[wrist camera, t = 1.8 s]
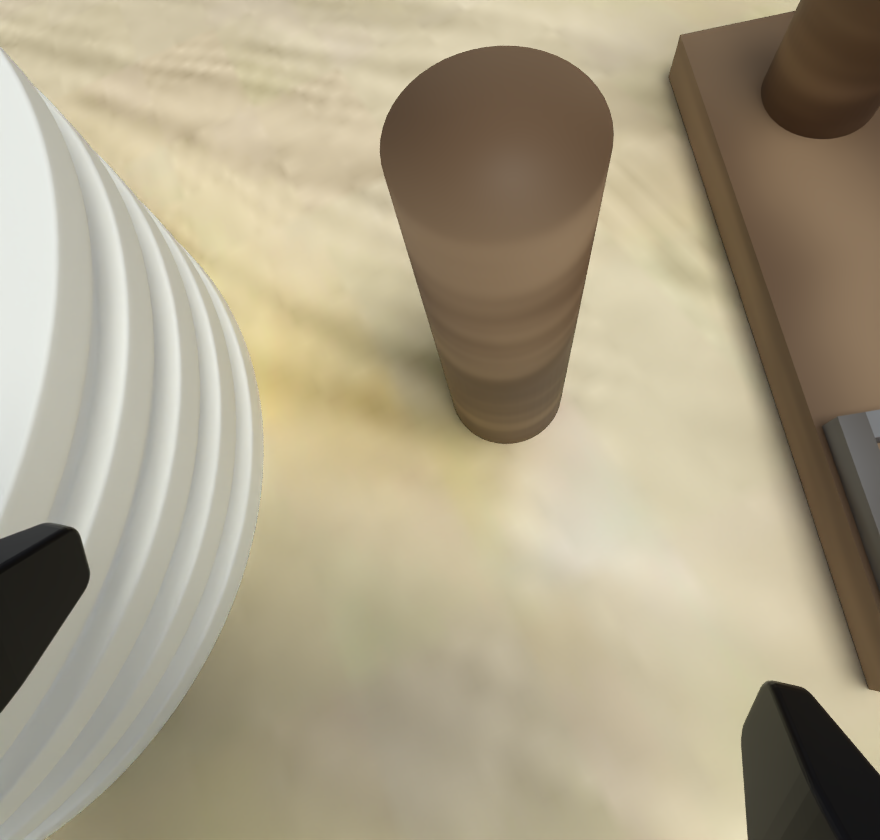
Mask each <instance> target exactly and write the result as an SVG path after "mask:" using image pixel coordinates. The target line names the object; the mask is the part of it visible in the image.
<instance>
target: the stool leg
mask: <svg viewBox="0 0 880 840" xmlns="http://www.w3.org/2000/svg"><path fill="white" fill-rule="evenodd" d="M613 136H614V133H613V122H612V118H611V114H610V110H609V107H608V105H607V103H606V101H605V98H604V97H603V95H602V93H601V92H600V90H599V89H598V87H597V86H596V85H595V84H594V82H593V81H592V80H591V79H590V78H589V77H588V76H587V75H586V74H585V73H583V72H582V71H581V70H580V69H579V68H577V67H576V66H574V65H573V64H571V63H570V62H568V61H566V60H564V59H562V58H560V57H558V56H556V55H553V54H550V53H547V52H545V51H541V50H537V49H532V48H528V47H519V46H492V47H484V48H478V49H473V50H469V51H466V52H463V53H459V54H456V55H454V56H452V57H449V58H447V59H444V60H442V61H441V62H439V63H437V64H435V65H433V66H431V67H430V68H429V69H427V70H426V71H424V72H423V73H421V74H420V75H419V76H418V77H416V78H415V79H414V80H413V81H412V82H411V83H410V84H409V85H408V86H407V87H406V88H405V89H404V90H403V91H402V92H401V94H400V95H399V96H398V98H397V99H396V101H395V102H394V104H393V105H392V107H391V109H390V111H389V113H388V115H387V117H386V120H385V123H384V126H383V130H382V135H381V139H380V157H381V165H382V169H383V172H384V176H385V179H386V183H387V186H388V189H389V192H390V196H391V199H392V202H393V206H394V209H395V212H396V216H397V219H398V222H399V225H400V229H401V232H402V235H403V239H404V242H405V245H406V249H407V252H408V255H409V258H410V262H411V265H412V268H413V272H414V275H415V278H416V282H417V285H418V288H419V291H420V295H421V298H422V301H423V305H424V308H425V311H426V315H427V318H428V321H429V324H430V328H431V331H432V334H433V338H434V341H435V344H436V348H437V351H438V354H439V357H440V361H441V364H442V367H443V371H444V374H445V377H446V381H447V384H448V387H449V390H450V394H451V397H452V400H453V404H454V407H455V410H456V412H457V415H458V416H459V418H460V420H461V421H462V422H463V424H464V425H465V426H466V427H467V428H468V429H469V430H470V431H471V432H473V433H474V434H475V435H477V436H479V437H481V438H483V439H485V440H488V441H491V442H495V443H503V444H509V443H518V442H522V441H525V440H528V439H530V438H532V437H534V436H536V435H537V434H539V433H540V432H542V431H543V430H544V429H545V428H546V427H547V426H548V425H549V424H550V423H551V421H552V420H553V419H554V417H555V415H556V413H557V411H558V408H559V405H560V401H561V396H562V392H563V387H564V382H565V377H566V372H567V367H568V362H569V357H570V353H571V348H572V343H573V338H574V333H575V328H576V323H577V318H578V314H579V309H580V304H581V299H582V294H583V289H584V284H585V280H586V275H587V270H588V265H589V260H590V255H591V250H592V245H593V241H594V236H595V231H596V226H597V221H598V216H599V211H600V207H601V202H602V197H603V192H604V187H605V182H606V177H607V172H608V168H609V163H610V158H611V153H612V148H613Z"/></svg>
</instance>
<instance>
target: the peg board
mask: <svg viewBox="0 0 880 840" xmlns="http://www.w3.org/2000/svg"><path fill="white" fill-rule="evenodd" d="M669 79H670V82H671V85H672V88H673V92H674V95H675V98H676V101H677V104H678V107H679V110H680V113H681V116H682V119H683V122H684V125H685V128H686V131H687V134H688V137H689V140H690V143H691V147H692V150H693V153H694V156H695V159H696V162H697V165H698V168H699V171H700V174H701V177H702V180H703V183H704V186H705V189H706V192H707V195H708V198H709V202H710V205H711V208H712V211H713V214H714V217H715V220H716V223H717V226H718V229H719V232H720V235H721V238H722V241H723V244H724V247H725V250H726V254H727V257H728V260H729V263H730V266H731V269H732V272H733V275H734V278H735V281H736V284H737V287H738V290H739V293H740V296H741V299H742V302H743V305H744V309H745V312H746V315H747V318H748V321H749V324H750V327H751V330H752V333H753V336H754V339H755V342H756V345H757V348H758V351H759V354H760V357H761V360H762V364H763V367H764V370H765V373H766V376H767V379H768V382H769V385H770V388H771V391H772V394H773V397H774V400H775V403H776V406H777V409H778V412H779V415H780V419H781V422H782V425H783V428H784V431H785V434H786V437H787V440H788V443H789V446H790V449H791V452H792V455H793V458H794V461H795V464H796V467H797V470H798V474H799V477H800V480H801V483H802V486H803V489H804V492H805V495H806V498H807V501H808V504H809V507H810V510H811V513H812V516H813V519H814V522H815V526H816V529H817V532H818V535H819V538H820V541H821V544H822V547H823V550H824V553H825V556H826V559H827V562H828V565H829V568H830V571H831V574H832V577H833V581H834V584H835V587H836V590H837V593H838V596H839V599H840V602H841V605H842V608H843V611H844V614H845V617H846V620H847V623H848V626H849V629H850V632H851V636H852V639H853V642H854V645H855V648H856V651H857V654H858V657H859V660H860V663H861V666H862V669H863V672H864V675H865V678H866V681H867V684H868V687H869V689H870V690H875V691H879V692H880V0H800V2H799V4H798V7H797V9H796V11H793V12H788V13H783V14H778V15H774V16H769V17H764V18H759V19H754V20H750V21H745V22H740V23H735V24H731V25H726V26H721V27H716V28H711V29H707V30H702V31H697V32H692V33H688V34H683V35H680V38H679V42H678V45H677V49H676V52H675V56H674V59H673V63H672V67H671V70H670V74H669Z"/></svg>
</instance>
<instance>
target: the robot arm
mask: <svg viewBox="0 0 880 840" xmlns="http://www.w3.org/2000/svg"><path fill="white" fill-rule="evenodd" d="M89 579H90V568H89V565H88V561H87V558H86V554H85V550H84V547H83V543H82V539H81V536H80V534H79V532H78V531H77V530H76V529H75V528H73V527H70V526H65V525H61V524H56V523H42V524H39V525H36V526H33V527H31V528H28V529H25V530H23V531H20V532H17V533H15V534H12V535H9V536H7V537H4V538H1V539H0V713H1V712H2V711H3V710H4V708H5V707H6V706H7V705H8V703H9V702H10V701H11V699H12V698H13V697H14V695H15V694H16V693H17V691H18V690H19V689H20V687H21V686H22V685H23V683H24V682H25V680H26V679H27V677H28V676H29V674H30V673H31V672H32V670H33V669H34V667H35V666H36V664H37V663H38V661H39V660H40V658H41V657H42V655H43V654H44V652H45V651H46V649H47V647H48V646H49V644H50V643H51V641H52V640H53V638H54V637H55V635H56V634H57V632H58V631H59V629H60V628H61V626H62V625H63V623H64V622H65V620H66V619H67V617H68V616H69V614H70V613H71V611H72V610H73V608H74V607H75V605H76V604H77V602H78V601H79V599H80V598H81V596H82V594H83V593H84V591H85V590H86V588H87V586H88V583H89ZM741 750H742V764H743V778H744V792H745V806H746V820H747V834H748V840H880V775H879V773H878V772H877V771H876V770H875V769H874V767H873V766H872V765H871V764H870V763H869V762H868V760H867V759H866V758H865V757H864V756H863V754H862V753H861V752H860V751H859V750H858V749H857V747H856V746H855V745H854V744H853V743H852V741H851V740H850V739H849V738H848V737H847V736H846V734H845V733H844V732H843V731H842V730H841V729H840V727H839V726H838V725H837V724H836V723H835V721H834V720H833V719H832V718H831V717H830V716H829V714H828V713H827V712H826V711H825V710H824V708H823V707H822V706H821V705H820V704H819V703H818V701H817V700H816V699H815V698H814V697H813V696H812V694H811V693H810V692H808V691H807V690H806V689H804V688H802V687H799V686H795V685H790V684H786V683H781V682H777V681H767V682H765V683H764V684H763V685H762V686H761V688H760V690H759V692H758V694H757V696H756V699H755V701H754V703H753V705H752V707H751V709H750V712H749V714H748V716H747V718H746V720H745V723H744V725H743V729H742V736H741Z"/></svg>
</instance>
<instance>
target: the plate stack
mask: <svg viewBox="0 0 880 840" xmlns="http://www.w3.org/2000/svg"><path fill="white" fill-rule="evenodd" d="M263 460H264V437H263V420H262V411H261V403H260V397H259V391H258V385H257V381H256V376H255V372H254V368H253V364H252V361H251V357H250V354H249V351H248V348H247V345H246V342H245V340H244V337H243V335H242V332H241V330H240V328H239V325H238V323H237V321H236V319H235V317H234V315H233V313H232V311H231V309H230V307H229V306H228V304H227V302H226V300H225V299H224V297H223V296H222V294H221V292H220V291H219V289H218V288H217V287H216V285H215V284H214V282H213V281H212V279H211V278H210V277H209V276H208V274H207V273H206V272H205V271H204V269H203V268H202V267H201V266H200V265H199V264H198V263H197V262H196V260H195V259H194V258H193V257H192V256H191V255H190V254H189V253H188V252H187V251H186V249H185V248H184V247H183V246H182V245H181V244H180V243H179V242H178V241H177V240H176V239H175V238H174V237H173V235H172V234H171V233H170V232H169V231H168V230H167V229H166V228H165V226H164V225H163V224H162V223H161V222H160V221H159V220H158V219H157V218H156V217H155V215H154V214H153V213H152V212H151V211H150V210H149V209H148V208H147V207H146V206H145V205H144V204H143V203H142V202H141V201H140V200H139V199H138V198H137V196H136V195H135V194H134V193H133V192H132V190H131V189H130V188H129V187H128V186H127V185H126V184H125V183H124V182H123V180H122V179H121V178H120V177H119V176H118V175H117V174H116V173H115V172H114V170H113V169H112V168H111V167H110V166H109V165H108V164H107V163H106V162H105V161H104V160H103V159H102V158H101V157H100V156H99V155H98V154H97V153H96V152H95V151H94V150H93V149H92V148H91V147H90V145H89V144H88V143H87V141H86V140H85V139H84V138H83V137H82V136H81V134H80V133H79V132H78V131H77V130H76V129H75V128H74V127H73V126H72V124H71V123H70V122H69V121H68V120H67V119H66V118H65V117H64V116H63V115H62V113H61V112H60V111H59V110H58V109H57V108H56V107H55V106H54V105H53V104H52V103H51V101H50V100H49V99H48V98H46V97H45V96H44V95H43V94H42V93H41V92H40V91H39V90H38V89H37V88H36V87H35V86H34V85H33V84H32V83H31V81H30V80H29V79H28V77H27V76H26V75H25V74H24V72H23V71H22V70H21V69H20V68H19V67H18V65H17V64H16V63H15V62H14V61H13V60H12V59H11V58H10V56H9V55H8V54H7V53H6V52H5V51H4V50H3V49H2V48H1V47H0V539H1V538H4V537H7V536H9V535H12V534H15V533H17V532H20V531H23V530H25V529H28V528H31V527H33V526H36V525H39V524H42V523H56V524H61V525H65V526H70V527H73V528H75V529H76V530H77V531H78V532H79V534H80V536H81V539H82V543H83V547H84V550H85V554H86V558H87V561H88V565H89V568H90V579H89V583H88V586H87V588H86V590H85V591H84V593H83V594H82V596H81V598H80V599H79V601H78V602H77V604H76V605H75V607H74V608H73V610H72V611H71V613H70V614H69V616H68V617H67V619H66V620H65V622H64V623H63V625H62V626H61V628H60V629H59V631H58V632H57V634H56V635H55V637H54V638H53V640H52V641H51V643H50V644H49V646H48V647H47V649H46V651H45V652H44V654H43V655H42V657H41V658H40V660H39V661H38V663H37V664H36V666H35V667H34V669H33V670H32V672H31V673H30V674H29V676H28V677H27V679H26V680H25V682H24V683H23V685H22V686H21V687H20V689H19V690H18V691H17V693H16V694H15V695H14V697H13V698H12V699H11V701H10V702H9V703H8V705H7V706H6V707H5V708H4V710H3V711H2V712H1V713H0V840H44V839H45V838H47V837H48V836H50V835H51V834H52V833H54V832H55V831H57V830H58V829H60V828H61V827H62V826H63V825H65V824H66V823H67V822H69V821H70V820H71V819H73V818H74V817H75V816H76V815H78V814H79V813H80V812H81V811H82V810H84V809H85V808H86V807H87V806H88V805H90V804H91V803H92V802H93V801H94V800H95V799H96V798H97V797H99V796H100V795H101V794H102V793H103V792H104V791H105V790H106V789H107V788H108V787H109V786H110V785H111V784H112V783H113V782H114V781H115V780H116V779H117V778H118V777H119V776H120V775H121V774H122V773H123V772H124V771H125V770H126V769H127V768H128V767H129V766H130V765H131V764H132V763H133V762H134V761H135V760H136V758H137V757H138V756H139V755H140V754H141V753H142V752H143V751H144V749H145V748H146V747H147V746H148V745H149V743H150V742H151V741H152V740H153V739H154V737H155V736H156V735H157V734H158V732H159V731H160V730H161V728H162V727H163V726H164V725H165V723H166V722H167V721H168V719H169V718H170V717H171V715H172V714H173V712H174V711H175V709H176V708H177V707H178V705H179V704H180V702H181V701H182V699H183V698H184V696H185V695H186V693H187V692H188V690H189V688H190V687H191V685H192V684H193V682H194V681H195V679H196V677H197V675H198V674H199V672H200V670H201V669H202V667H203V665H204V663H205V662H206V660H207V658H208V656H209V654H210V652H211V650H212V648H213V646H214V645H215V643H216V640H217V638H218V636H219V634H220V632H221V630H222V628H223V626H224V624H225V621H226V619H227V616H228V614H229V612H230V609H231V607H232V605H233V602H234V599H235V597H236V594H237V591H238V589H239V586H240V583H241V580H242V577H243V574H244V570H245V567H246V564H247V560H248V557H249V553H250V549H251V546H252V541H253V537H254V533H255V528H256V523H257V517H258V512H259V505H260V498H261V490H262V478H263Z"/></svg>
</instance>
